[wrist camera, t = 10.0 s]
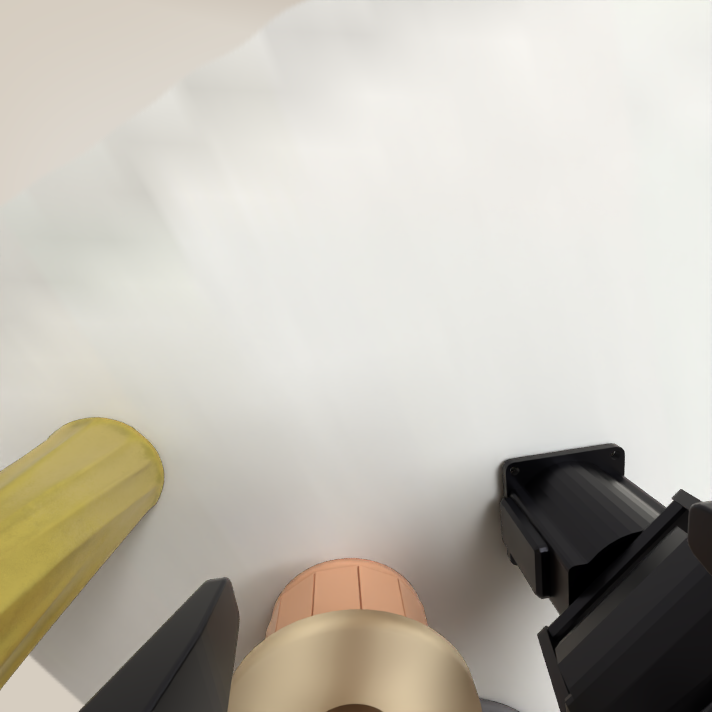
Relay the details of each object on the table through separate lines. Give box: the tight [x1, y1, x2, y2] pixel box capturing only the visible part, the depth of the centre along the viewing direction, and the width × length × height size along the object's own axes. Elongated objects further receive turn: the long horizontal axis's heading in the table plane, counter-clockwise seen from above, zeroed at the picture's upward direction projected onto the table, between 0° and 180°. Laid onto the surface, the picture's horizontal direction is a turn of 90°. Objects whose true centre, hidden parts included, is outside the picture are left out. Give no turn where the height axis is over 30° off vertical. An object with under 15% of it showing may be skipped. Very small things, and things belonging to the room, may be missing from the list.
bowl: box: [265, 558, 428, 639], centre depth 21 cm, size 9×9×5 cm
